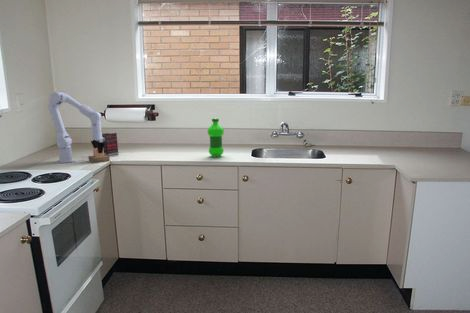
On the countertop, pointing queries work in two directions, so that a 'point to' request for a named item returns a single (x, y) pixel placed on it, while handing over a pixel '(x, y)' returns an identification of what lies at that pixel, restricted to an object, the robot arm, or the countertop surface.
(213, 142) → the plastic bottle
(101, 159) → the walnut base
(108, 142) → the supplement box
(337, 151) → the countertop surface
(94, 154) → the terracotta cube
